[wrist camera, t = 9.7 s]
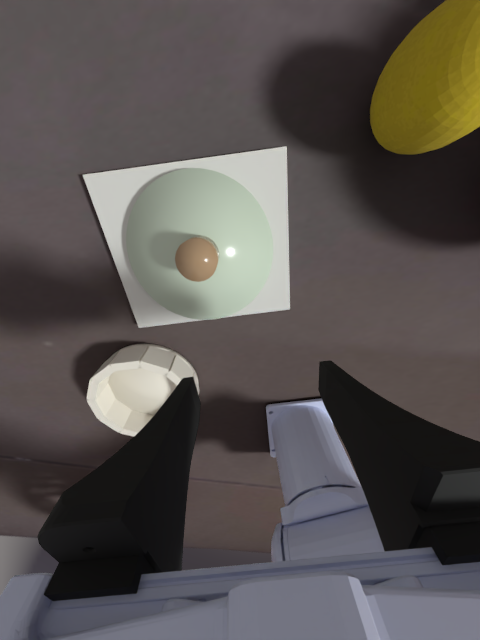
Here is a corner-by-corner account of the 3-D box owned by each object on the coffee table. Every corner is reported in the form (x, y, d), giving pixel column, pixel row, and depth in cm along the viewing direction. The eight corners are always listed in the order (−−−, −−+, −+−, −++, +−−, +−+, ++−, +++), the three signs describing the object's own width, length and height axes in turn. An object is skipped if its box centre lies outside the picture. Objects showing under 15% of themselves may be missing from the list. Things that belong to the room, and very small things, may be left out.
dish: (206, 409, 26) (203, 432, 24) (123, 419, 27) (111, 442, 24) (187, 337, 22) (181, 355, 19) (88, 349, 22) (68, 369, 19)
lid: (270, 313, 20) (277, 330, 17) (147, 319, 20) (133, 337, 17) (273, 166, 15) (283, 155, 13) (111, 173, 15) (83, 164, 12)
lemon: (330, 138, 15) (417, 74, 8) (387, 33, 13) (572, -177, 6) (389, 181, 17) (510, 159, 9) (450, 91, 14) (665, -24, 7)
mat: (288, 306, 21) (290, 309, 20) (141, 324, 21) (138, 327, 21) (284, 148, 15) (286, 146, 15) (87, 176, 16) (82, 174, 15)
